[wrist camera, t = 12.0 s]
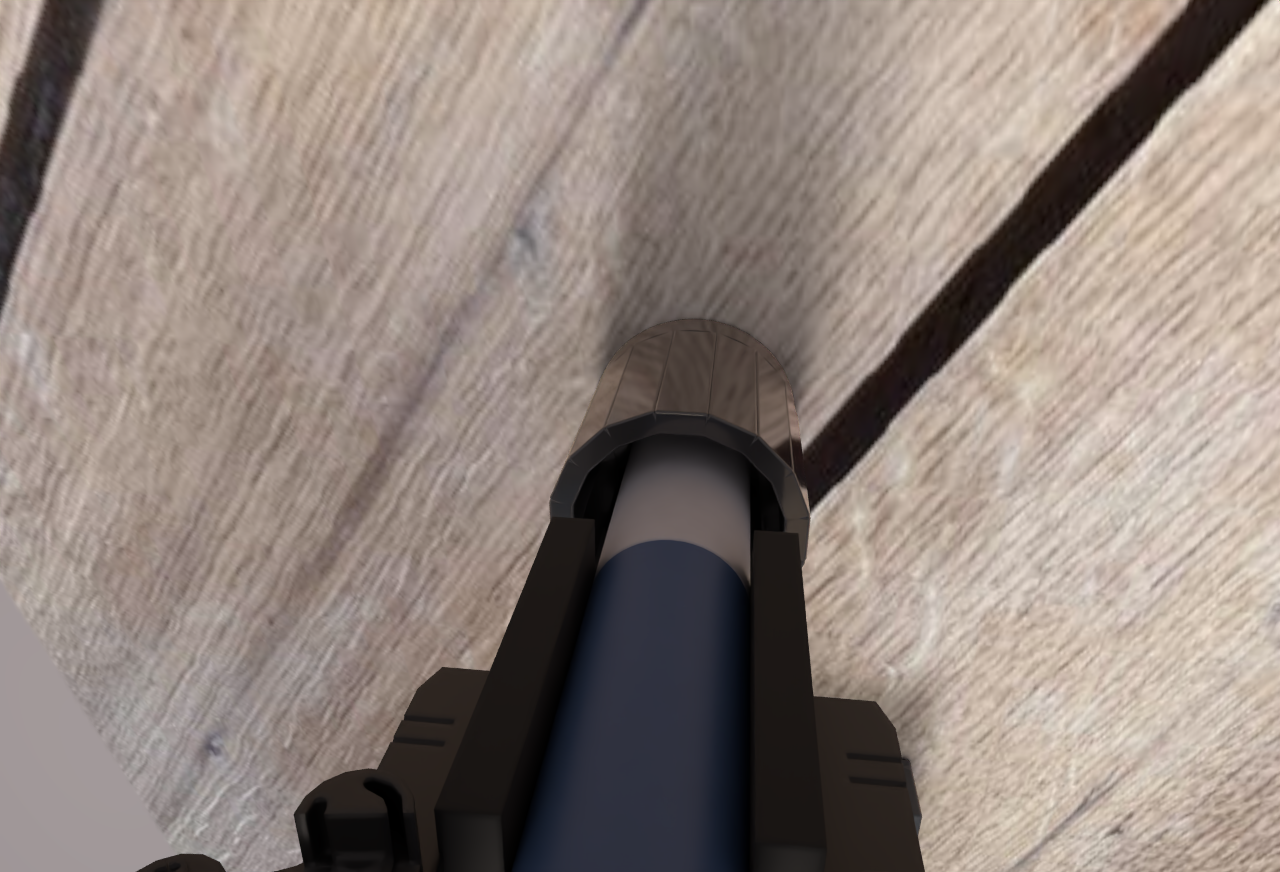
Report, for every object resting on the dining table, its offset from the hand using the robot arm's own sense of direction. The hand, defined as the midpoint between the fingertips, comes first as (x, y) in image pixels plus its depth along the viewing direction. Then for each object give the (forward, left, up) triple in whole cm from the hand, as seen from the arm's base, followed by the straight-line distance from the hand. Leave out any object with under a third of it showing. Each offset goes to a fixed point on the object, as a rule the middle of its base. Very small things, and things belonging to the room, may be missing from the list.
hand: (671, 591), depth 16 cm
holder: (0, 0, -8) cm, 8 cm away
